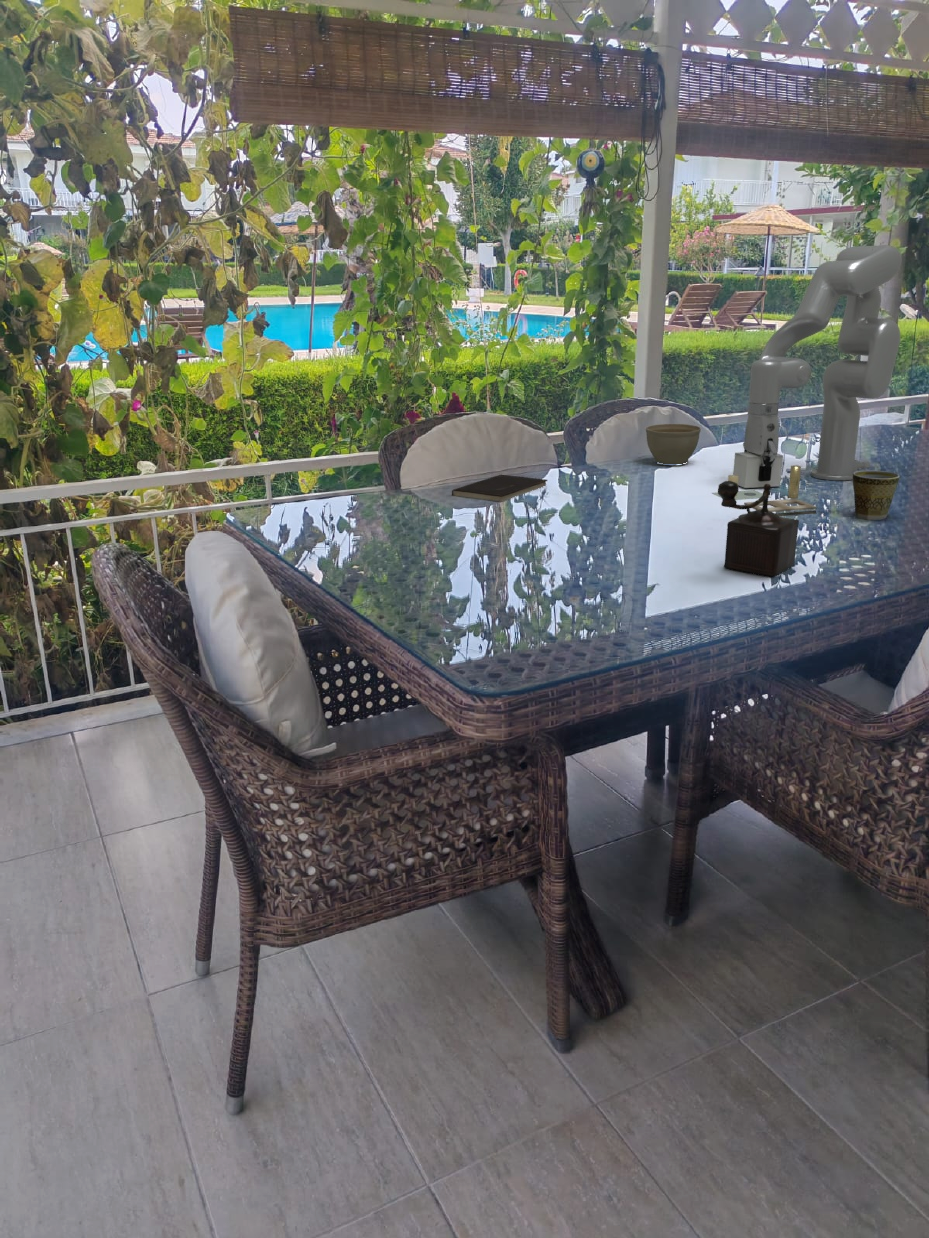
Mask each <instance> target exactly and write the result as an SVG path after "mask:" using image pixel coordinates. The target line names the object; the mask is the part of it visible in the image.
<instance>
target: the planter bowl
mask: <svg viewBox="0 0 929 1238" xmlns="http://www.w3.org/2000/svg"><path fill="white" fill-rule="evenodd" d="M701 429H702V428H701V427H700V426H698V425H693V424H686V423H685V424H684V423H663V424H661V423H659V424H653V425H648V426H646V427H645V432H646V442H647V446H648V449H649V452H650V453H651V455H652V456H653V458H654V460H655V463H656V462H659V463H663V464H683V463H686V462H689V459H690V458H691V457H692V455H693V454H694V452H695V451H696V449H697V446H698V443H699V440H700V433H701Z"/></svg>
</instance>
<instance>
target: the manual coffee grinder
mask: <svg viewBox="0 0 929 1238" xmlns="http://www.w3.org/2000/svg"><path fill="white" fill-rule="evenodd" d="M771 489H772V487H771V486H770V484H765V485H764V487H763V492H762V493H763V495H762V496H761V497H760V498H757V499H756V500H755V501H752V502H753V503H751V504H747V505H744V504H738V502H737V500H735V496H736V494H737V493H738V491H739V485H738V484H737V483H735V482H732V481H728V480H725V481H723V482H721V483H720V484H718V487H717V492H718V494H719V495H720V496H721V497H720V498H721V500H722V501H721V507H725V508H729V509H730V508H731V509H737V510H746V512H747V513H743V514H740V515H739V516H737V518H734V519H732V520H729V521H728V522H727V525H726V526H727V529H726V540H725V555H724V564H723V568H725V569H728V570H732V571H735V572H740V573H745V574H750V575H755V576H760V577H766V578H774V577H778V576H780V575H781V574H783V573H785V572H786V571H788V570H789V569H791V568H793V567H794V566H795V564H796V562H795V561H796V551H797V541H798V532H799V524H800V521H799V519H794V518H789V517H784V516H778V515H777V514H775V513H776V512H771V511H768V509H767V508H769V505H768V501H769V498H768V497H769V496H770V497H771ZM762 502H763V506H761V507H762V509H759V510H755V509H754V510H751V509H753V507H755V506H757V505H758V504H760V503H762ZM793 565H794V566H793ZM788 568H789V569H788ZM787 569H788V570H787ZM782 572H783V573H782ZM777 575H778V576H777Z"/></svg>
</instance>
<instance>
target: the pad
mask: <svg viewBox="0 0 929 1238" xmlns="http://www.w3.org/2000/svg"><path fill="white" fill-rule="evenodd" d="M727 479H728V480H727V481H732V482H735V483H737V484H738V476H736V475H733V474H732V475H728V477H727ZM711 494H712V495H714V496H717V497H718V498H721V496H720V495H719V494H718V491H717V492H711ZM762 495H763V492H760V491H757V490H755V489H751V490H747V489H746V490H738V493H737V494H736V496H735V500H736V501H738V500H739V501H741V500H754V499H755V500H758V499H759V498H760V497H761V496H762ZM770 498H771V499H772V496H771V495H770V496H769V497H768V499H770Z"/></svg>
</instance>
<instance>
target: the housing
mask: <svg viewBox="0 0 929 1238" xmlns="http://www.w3.org/2000/svg"><path fill="white" fill-rule="evenodd" d="M764 454H766V452H764ZM767 457H769V456H766V457H764V458H765V459H766V458H767ZM733 461H734V462H733V471H732V473H733V474H732V475H736V476H738V487H739V486H740V487H741V488H744V489H750V488H751V489H752V488H753V489H754V488H764V485H765V484H770V486H771V488H772V487H781V481H782V472H783V463H784V455H783V454H779V453H777V456H776V457H775V460H774V462H773V466H772V470H771V480H770V481H759V480H758V478H759V466H761V457H760V455H757V454H754V453H751V452H744V451H743V452H734V459H733Z"/></svg>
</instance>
